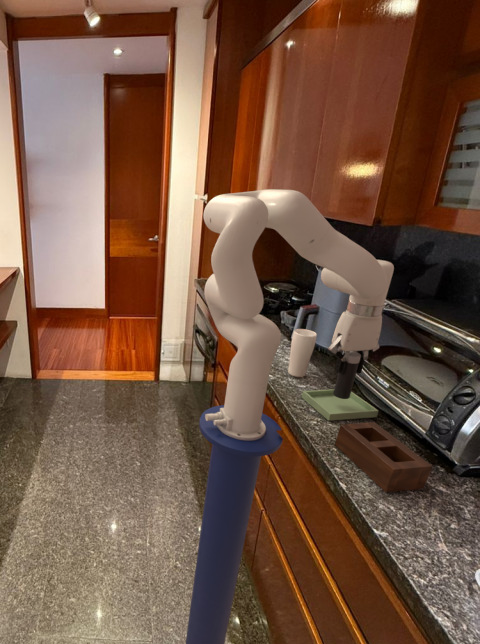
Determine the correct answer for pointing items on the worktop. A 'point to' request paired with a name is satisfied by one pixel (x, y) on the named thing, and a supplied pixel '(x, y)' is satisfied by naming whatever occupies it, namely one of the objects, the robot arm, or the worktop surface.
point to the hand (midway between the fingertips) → (347, 371)
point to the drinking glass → (301, 351)
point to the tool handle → (347, 377)
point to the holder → (383, 457)
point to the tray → (339, 405)
